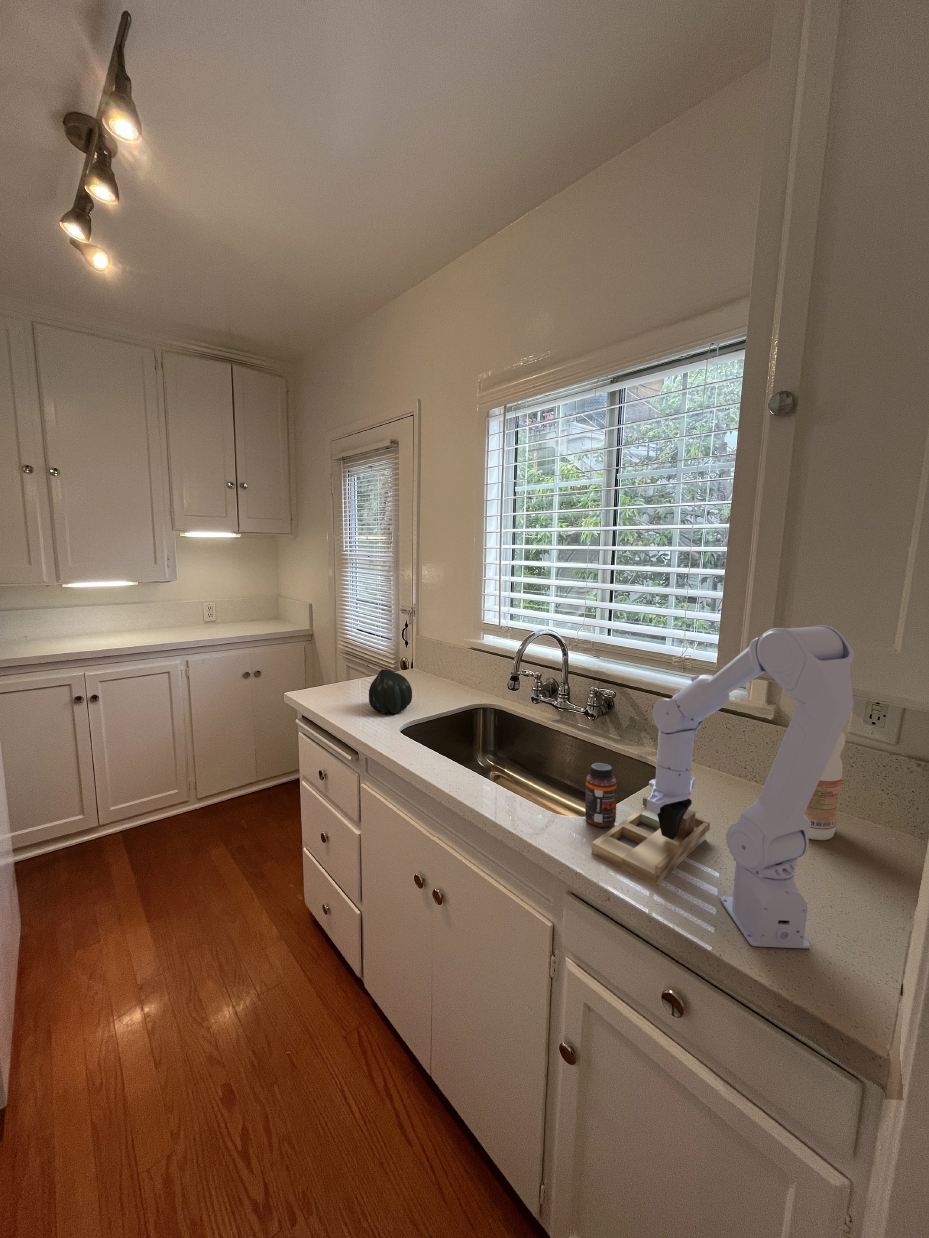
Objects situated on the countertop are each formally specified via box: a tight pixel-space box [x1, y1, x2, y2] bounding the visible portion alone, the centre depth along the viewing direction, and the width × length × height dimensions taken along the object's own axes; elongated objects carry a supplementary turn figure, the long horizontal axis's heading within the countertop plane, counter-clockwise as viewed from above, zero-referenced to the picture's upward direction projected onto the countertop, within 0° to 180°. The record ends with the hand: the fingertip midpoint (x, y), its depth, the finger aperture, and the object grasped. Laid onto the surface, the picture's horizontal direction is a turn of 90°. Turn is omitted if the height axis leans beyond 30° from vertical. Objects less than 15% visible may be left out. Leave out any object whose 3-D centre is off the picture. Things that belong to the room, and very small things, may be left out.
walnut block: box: [677, 808, 696, 839], centre depth 92 cm, size 4×4×4 cm
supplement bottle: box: [584, 762, 618, 828], centre depth 99 cm, size 6×6×11 cm
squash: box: [368, 668, 413, 714], centre depth 166 cm, size 14×15×15 cm
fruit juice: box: [804, 730, 846, 841], centre depth 96 cm, size 9×9×28 cm
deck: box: [591, 796, 711, 887], centre depth 91 cm, size 20×13×4 cm, turn 133°
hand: (668, 836), depth 89 cm, fingers closed
